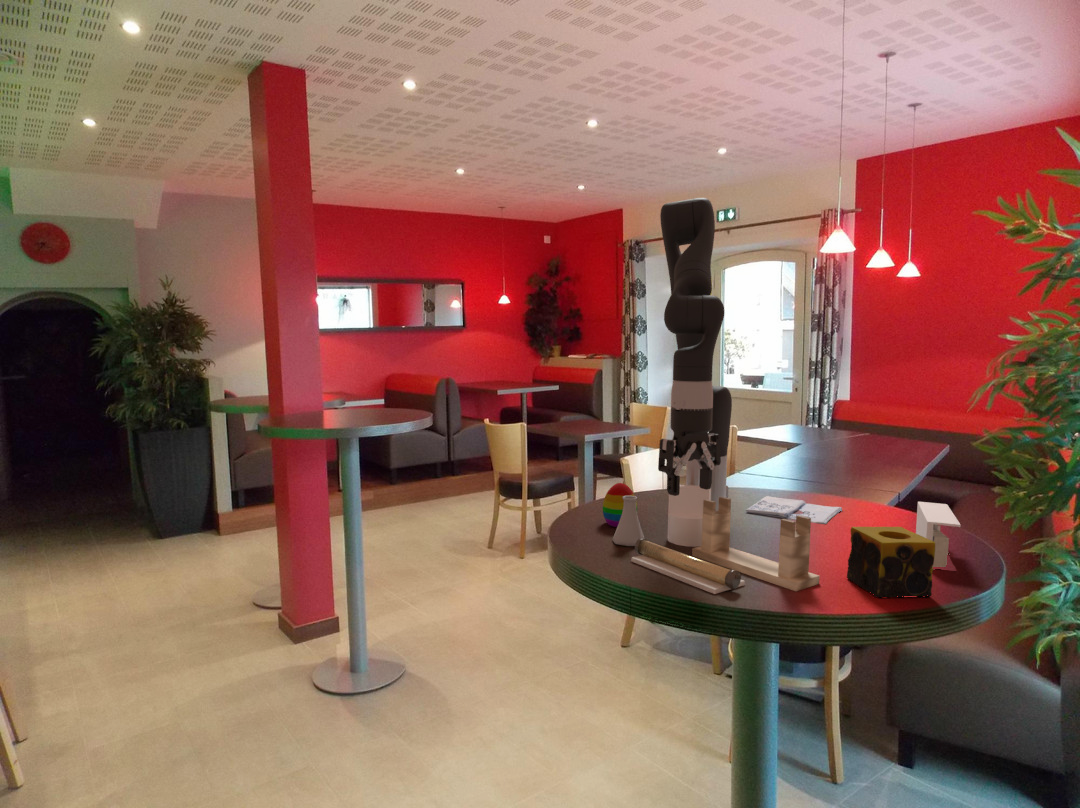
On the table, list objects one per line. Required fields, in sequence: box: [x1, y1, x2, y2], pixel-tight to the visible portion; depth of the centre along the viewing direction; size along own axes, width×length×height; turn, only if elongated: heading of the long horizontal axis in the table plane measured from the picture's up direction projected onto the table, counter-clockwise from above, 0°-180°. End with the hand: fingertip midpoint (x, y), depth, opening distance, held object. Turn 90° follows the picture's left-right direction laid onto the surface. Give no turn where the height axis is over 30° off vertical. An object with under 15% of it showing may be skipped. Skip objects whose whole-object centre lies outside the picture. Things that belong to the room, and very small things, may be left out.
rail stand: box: [691, 497, 821, 592], centre depth 131 cm, size 7×24×12 cm, turn 35°
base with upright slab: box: [667, 483, 711, 548], centre depth 149 cm, size 9×9×12 cm
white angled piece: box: [915, 501, 961, 567], centre depth 140 cm, size 20×6×9 cm, turn 156°
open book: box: [745, 495, 843, 525], centre depth 177 cm, size 19×20×2 cm
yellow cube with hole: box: [846, 526, 935, 598], centre depth 121 cm, size 10×10×10 cm
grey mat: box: [630, 554, 746, 595], centre depth 128 cm, size 8×21×1 cm, turn 35°
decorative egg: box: [602, 482, 638, 528], centre depth 162 cm, size 8×8×10 cm
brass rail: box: [634, 538, 742, 590], centre depth 128 cm, size 24×3×3 cm, turn 35°
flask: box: [612, 495, 646, 547], centre depth 147 cm, size 7×7×10 cm
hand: (689, 491), depth 127 cm, fingers open, 8 cm apart
